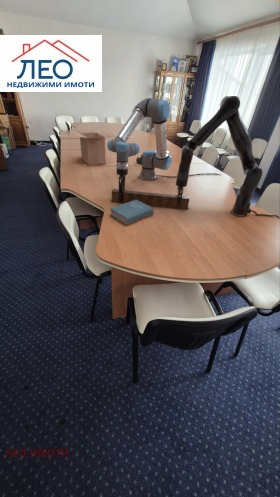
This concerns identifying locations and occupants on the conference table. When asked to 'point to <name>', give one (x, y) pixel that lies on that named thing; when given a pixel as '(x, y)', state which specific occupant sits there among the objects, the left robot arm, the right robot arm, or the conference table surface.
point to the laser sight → (139, 159)
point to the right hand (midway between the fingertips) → (178, 201)
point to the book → (131, 211)
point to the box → (92, 146)
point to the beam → (151, 199)
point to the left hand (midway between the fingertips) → (121, 200)
